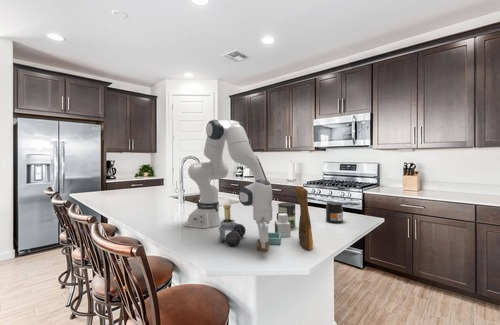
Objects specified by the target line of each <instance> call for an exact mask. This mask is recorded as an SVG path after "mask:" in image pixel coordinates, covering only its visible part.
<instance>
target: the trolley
mask: <svg viewBox="0 0 500 325" xmlns="http://www.w3.org/2000/svg"><path fill="white" fill-rule="evenodd" d="M235 221H236V220H235V219H231V222H225V218H224V219H222V220H220V222H221V224H220V225H219V227H218V231H219V243H220V244H222V243H223V242H224V241H225V243H226V244H227V246H229V247H231V248H235V247H238V245H239V244H240V242H241V238H243V237H244V236H245V234H246V227H245V225H243V224H241V223H238V222H235ZM226 231H228V233H227V234H226Z"/></svg>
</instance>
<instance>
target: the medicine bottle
mask: <svg viewBox="0 0 500 325" xmlns="http://www.w3.org/2000/svg"><path fill="white" fill-rule="evenodd" d="M274 233H281V238H289V237H291V230H290V223H289V222H288V214H287V213H285V212H280V213H278V212H277V213H276V220H274Z"/></svg>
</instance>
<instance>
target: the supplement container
mask: <svg viewBox="0 0 500 325" xmlns="http://www.w3.org/2000/svg"><path fill="white" fill-rule="evenodd" d="M343 217H344V209H343V203H342V202H339V201H327V202H326V207H325V221H326V222H327V223H331V224H341V223H343V222H344V218H343Z"/></svg>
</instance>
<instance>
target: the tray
mask: <svg viewBox="0 0 500 325" xmlns="http://www.w3.org/2000/svg"><path fill="white" fill-rule="evenodd" d="M268 239H269V246H271V245H272V246H280V245H281V241H282V237H281V233H275V232H268Z"/></svg>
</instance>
